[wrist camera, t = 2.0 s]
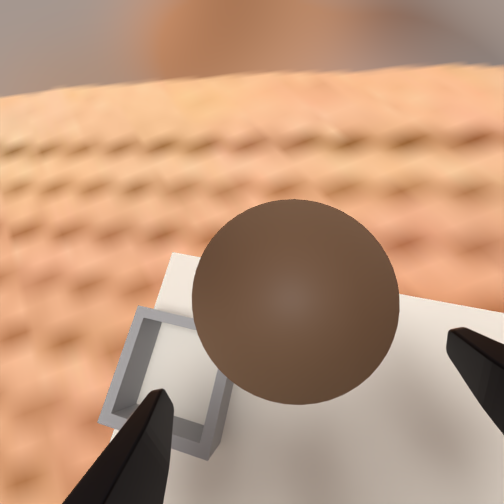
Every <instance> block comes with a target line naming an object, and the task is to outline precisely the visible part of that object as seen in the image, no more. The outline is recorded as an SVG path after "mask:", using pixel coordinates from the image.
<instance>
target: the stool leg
mask: <svg viewBox="0 0 504 504" xmlns="http://www.w3.org/2000/svg"><path fill="white" fill-rule="evenodd" d="M192 312H193V318H194V323H195V327H196V330H197V334H198V336H199V339H200V341H201V343H202V345H203V347H204V349H205V351H206V352H207V354H208V356H209V357H210V359H211V360H212V362H213V363H214V364H215V365H216V367H217V368H218V369H219V370H220V371H221V372H222V373H223V374H224V375H225V376H226V377H227V378H228V379H229V380H230V381H232V382H233V383H234V384H236V385H237V386H239V387H240V388H241V389H243V390H245V391H247V392H249V393H251V394H253V395H254V396H257V397H260V398H262V399H265V400H268V401H272V402H276V403H281V404H290V405H307V404H316V403H321V402H325V401H329V400H332V399H334V398H337V397H339V396H342V395H344V394H346V393H348V392H349V391H351V390H353V389H354V388H356V387H358V386H359V385H360V384H361V383H363V382H364V381H365V380H366V379H367V378H369V377H370V376H371V374H372V373H373V372H374V371H375V370H376V369H377V368H378V367H379V365H380V364H381V362H382V361H383V359H384V358H385V356H386V355H387V353H388V351H389V349H390V347H391V344H392V342H393V340H394V337H395V333H396V330H397V326H398V320H399V312H400V301H399V290H398V284H397V280H396V276H395V273H394V270H393V267H392V265H391V263H390V261H389V258H388V256H387V255H386V253H385V251H384V250H383V248H382V246H381V245H380V244H379V242H378V241H377V240H376V239H375V237H374V236H373V235H372V234H371V233H370V232H369V231H368V230H367V229H366V228H365V227H364V226H363V225H362V224H360V223H359V222H358V221H356V220H355V219H354V218H352V217H351V216H349V215H347V214H346V213H344V212H342V211H340V210H338V209H336V208H333V207H331V206H328V205H325V204H322V203H318V202H313V201H308V200H296V199H291V200H279V201H272V202H268V203H264V204H261V205H258V206H255V207H253V208H251V209H248V210H246V211H245V212H243V213H241V214H239V215H237V216H236V217H235V218H233V219H232V220H230V221H229V222H228V223H227V224H226V225H225V226H223V227H222V228H221V229H220V230H219V231H218V232H217V234H216V235H215V236H214V237H213V238H212V240H211V241H210V243H209V244H208V246H207V247H206V249H205V250H204V252H203V254H202V256H201V258H200V260H199V263H198V266H197V269H196V272H195V276H194V281H193V287H192Z"/></svg>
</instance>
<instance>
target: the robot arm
mask: <svg viewBox="0 0 504 504" xmlns="http://www.w3.org/2000/svg"><path fill="white" fill-rule="evenodd" d="M446 352H447V354H448V356H449V358H450V360H451V361H452V363H453V364H454V366H455V367H456V369H457V370H458V372H459V373H460V375H461V376H462V378H463V379H464V381H465V383H466V384H467V386H468V387H469V389H470V390H471V392H472V393H473V395H474V396H475V398H476V399H477V401H478V402H479V404H480V405H481V407H482V408H483V409H484V411H485V412H486V413H487V414H488V416H489V417H490V418H491V420H492V421H493V422H494V423H495V425H496V426H497V427H498V428H499V430H500V431H501V432H502V434H503V435H504V344H502V343H500V342H498V341H496V340H493V339H491V338H489V337H487V336H484V335H482V334H480V333H477V332H475V331H473V330H471V329H468V328H466V327H458V328H453V329H450V330H449V331H448V334H447V343H446ZM173 419H174V406H173V403H172V401H171V399H170V397H169V396H168V394H167V392H166V391H165V389H163V388H161V389H156V390H152V391H150V392H149V393H148V395H147V396H146V397H145V398H144V400H143V401H142V402H141V403H140V405H139V406H138V407H137V409H136V410H135V411H134V412H133V414H132V415H131V416H130V418H129V419H128V420H127V421H126V423H125V424H124V425H123V426H122V428H121V429H120V430H119V432H118V433H117V434H116V435H115V437H114V438H113V439H112V441H111V442H110V443H109V444H108V446H107V447H106V448H105V449H104V451H103V452H102V453H101V455H100V456H99V457H98V458H97V460H96V461H95V462H94V464H93V465H92V466H91V467H90V469H89V470H88V471H87V472H86V474H85V475H84V476H83V478H82V479H81V480H80V481H79V483H78V484H77V485H76V487H75V488H74V489H73V490H72V492H71V493H70V494H69V495H68V497H67V498H66V499H65V501H64V502H63V503H62V504H163V502H164V496H165V490H166V484H167V478H168V472H169V466H170V456H171V444H172V431H173Z"/></svg>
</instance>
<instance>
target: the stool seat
mask: <svg viewBox="0 0 504 504" xmlns="http://www.w3.org/2000/svg"><path fill="white" fill-rule="evenodd" d="M200 258H201V257H195V256H190V255H185V254H179V253H174V252H172V255H171V258H170V261H169V264H168V268H167V271H166V274H165V277H164V280H163V283H162V286H161V289H160V292H159V295H158V298H157V301H156V304H155V307H154V309H151V308H147V307H142V306H138V307H137V310H136V313H135V316H134V319H133V322H132V325H131V327H130V330H129V333H128V336H127V339H126V342H125V345H124V348H123V350H122V353H121V356H120V359H119V362H118V365H117V368H116V371H115V373H114V376H113V379H112V382H111V385H110V388H109V391H108V393H107V396H106V399H105V402H104V405H103V408H102V411H101V414H100V416H99V419H98V422H97V423H100V424H102V425H105V426H108V427H111V428H114V431H113V434H112V437H111V440H110V442H111V441H112V439H113V438H114V437H115V435H116V434H117V433H118V432H119V430H120V429H121V428H122V426H123V425H124V424H125V423H126V421H127V420H128V419H129V418H130V416H131V415H132V414H133V412H134V411H135V410H136V409H137V407H138V406H139V405H140V403H141V402H142V401H143V400H144V398H145V397H146V396H147V395H148V393H149V392H150V391H152V390H156V389H161V388H163V389H165V391H166V392H167V394H168V396H169V397H170V399H171V401H172V403H173V406H174V419H173V431H172V444H171V456H170V466H169V472H168V478H167V484H166V490H165V496H164V502H163V504H504V435H503V434H502V432H501V431H500V430H499V428H498V427H497V426H496V425H495V423H494V422H493V421H492V420H491V418H490V417H489V416H488V414H487V413H486V412H485V411H484V409H483V408H482V407H481V405H480V404H479V402H478V401H477V399H476V398H475V396H474V395H473V393H472V392H471V390H470V389H469V387H468V386H467V384H466V383H465V381H464V379H463V378H462V376H461V375H460V373H459V372H458V370H457V369H456V367H455V366H454V364H453V363H452V361H451V360H450V358H449V356H448V354H447V352H446V343H447V334H448V331H449V330H450V329H453V328H458V327H466V328H468V329H471V330H473V331H475V332H477V333H480V334H482V335H484V336H487V337H489V338H491V339H493V340H496V341H498V342H500V343H502V344H504V313H500V312H495V311H489V310H484V309H478V308H473V307H467V306H462V305H456V304H451V303H446V302H440V301H435V300H429V299H424V298H418V297H413V296H408V295H402V294H399V301H400V312H399V320H398V326H397V330H396V333H395V337H394V340H393V342H392V344H391V347H390V349H389V351H388V353H387V355H386V356H385V358H384V359H383V361H382V362H381V364H380V365H379V367H378V368H377V369H376V370H375V371H374V372H373V373H372V374H371V376H370V377H369V378H367V379H366V380H365V381H364V382H363V383H361V384H360V385H359V386H358V387H356V388H354V389H353V390H351V391H349V392H348V393H346V394H344V395H342V396H339V397H337V398H334V399H332V400H329V401H325V402H321V403H316V404H307V405H290V404H281V403H276V402H272V401H268V400H265V399H262V398H260V397H257V396H254V395H253V394H251V393H249V392H247V391H245V390H243V389H241V388H240V387H239V386H237V385H236V384H234V383H233V382H232V381H230V380H229V379H228V378H227V377H226V376H225V375H224V374H223V373H222V372H221V371H220V370H219V369H218V368H217V367H216V365H215V364H214V363H213V362H212V360H211V359H210V357H209V356H208V354H207V352H206V351H205V349H204V347H203V345H202V343H201V341H200V339H199V336H198V334H197V330H196V327H195V323H194V318H193V312H192V287H193V281H194V276H195V272H196V269H197V266H198V263H199V260H200Z"/></svg>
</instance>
